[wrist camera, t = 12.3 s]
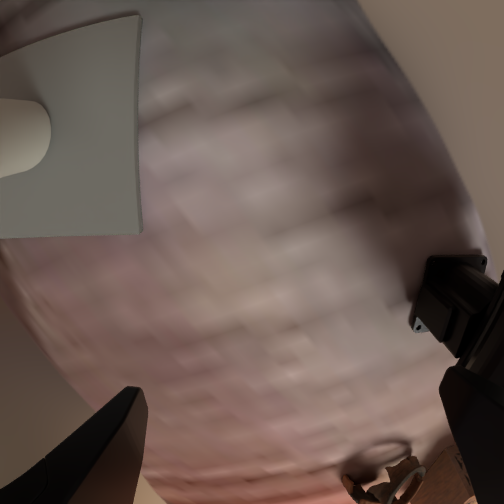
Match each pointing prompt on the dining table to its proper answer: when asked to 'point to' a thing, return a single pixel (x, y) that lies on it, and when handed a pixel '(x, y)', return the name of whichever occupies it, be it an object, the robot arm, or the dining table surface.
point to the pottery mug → (389, 484)
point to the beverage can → (22, 135)
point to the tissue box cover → (446, 481)
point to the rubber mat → (78, 133)
